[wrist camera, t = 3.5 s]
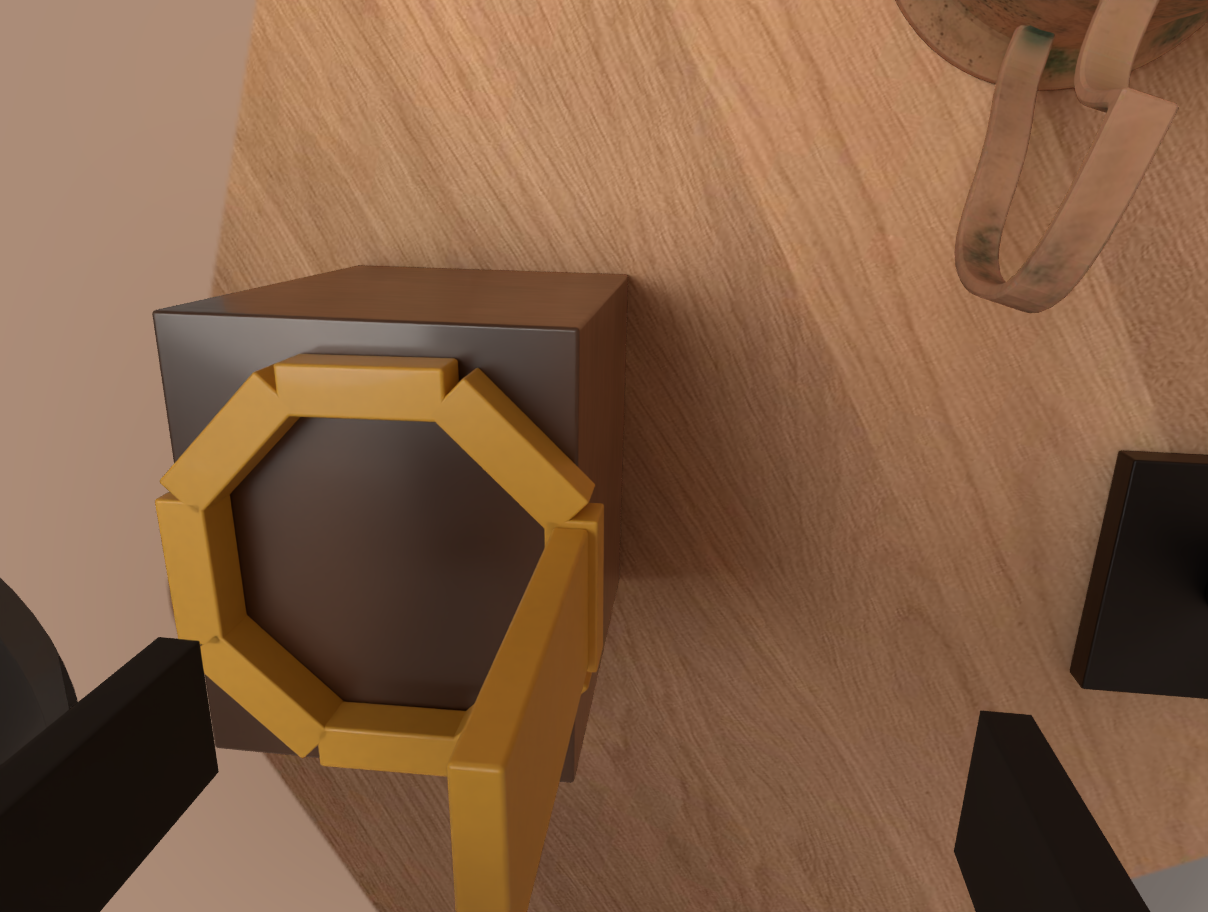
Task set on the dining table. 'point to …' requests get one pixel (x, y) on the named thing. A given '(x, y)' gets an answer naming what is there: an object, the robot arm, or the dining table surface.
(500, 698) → the ring
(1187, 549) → the post
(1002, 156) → the mug
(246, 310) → the block
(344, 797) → the dining table surface
